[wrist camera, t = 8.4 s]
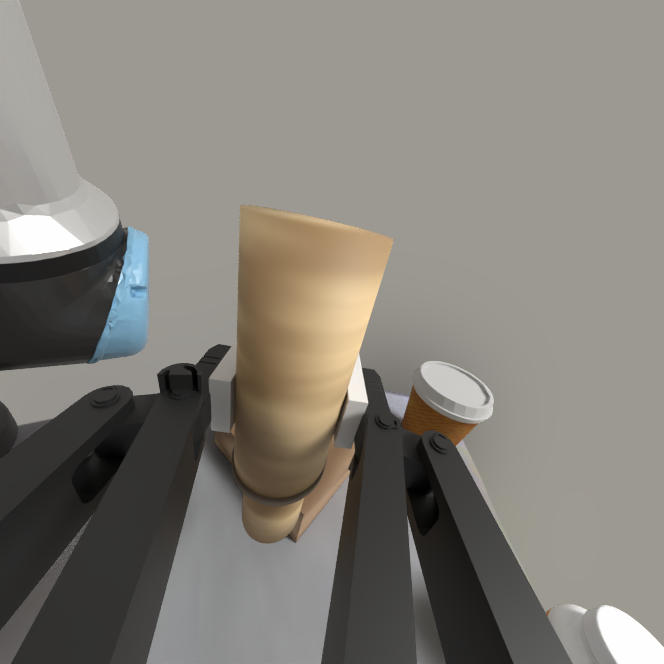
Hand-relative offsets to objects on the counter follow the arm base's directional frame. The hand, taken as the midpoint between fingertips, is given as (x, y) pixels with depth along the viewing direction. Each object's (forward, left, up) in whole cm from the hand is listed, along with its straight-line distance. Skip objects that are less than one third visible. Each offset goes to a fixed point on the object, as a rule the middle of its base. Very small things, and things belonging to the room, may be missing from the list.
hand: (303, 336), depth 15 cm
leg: (+3, -4, -9) cm, 11 cm away
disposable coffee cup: (+9, +19, -20) cm, 29 cm away
